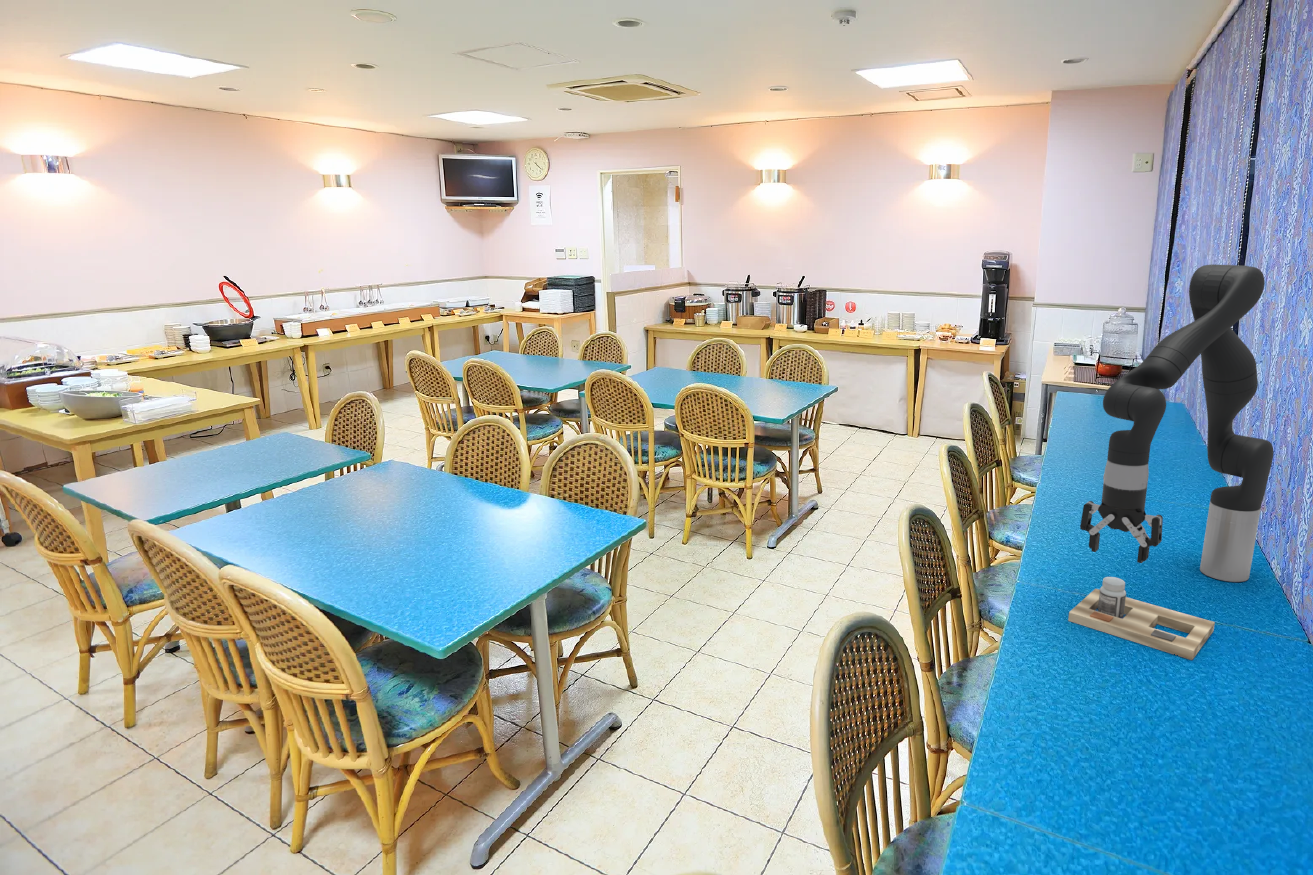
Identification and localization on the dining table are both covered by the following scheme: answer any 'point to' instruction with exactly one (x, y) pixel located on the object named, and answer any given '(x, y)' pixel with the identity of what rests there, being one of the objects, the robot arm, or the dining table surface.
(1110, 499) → the robot arm
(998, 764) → the dining table surface
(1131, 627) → the socket board
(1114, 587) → the pill bottle
